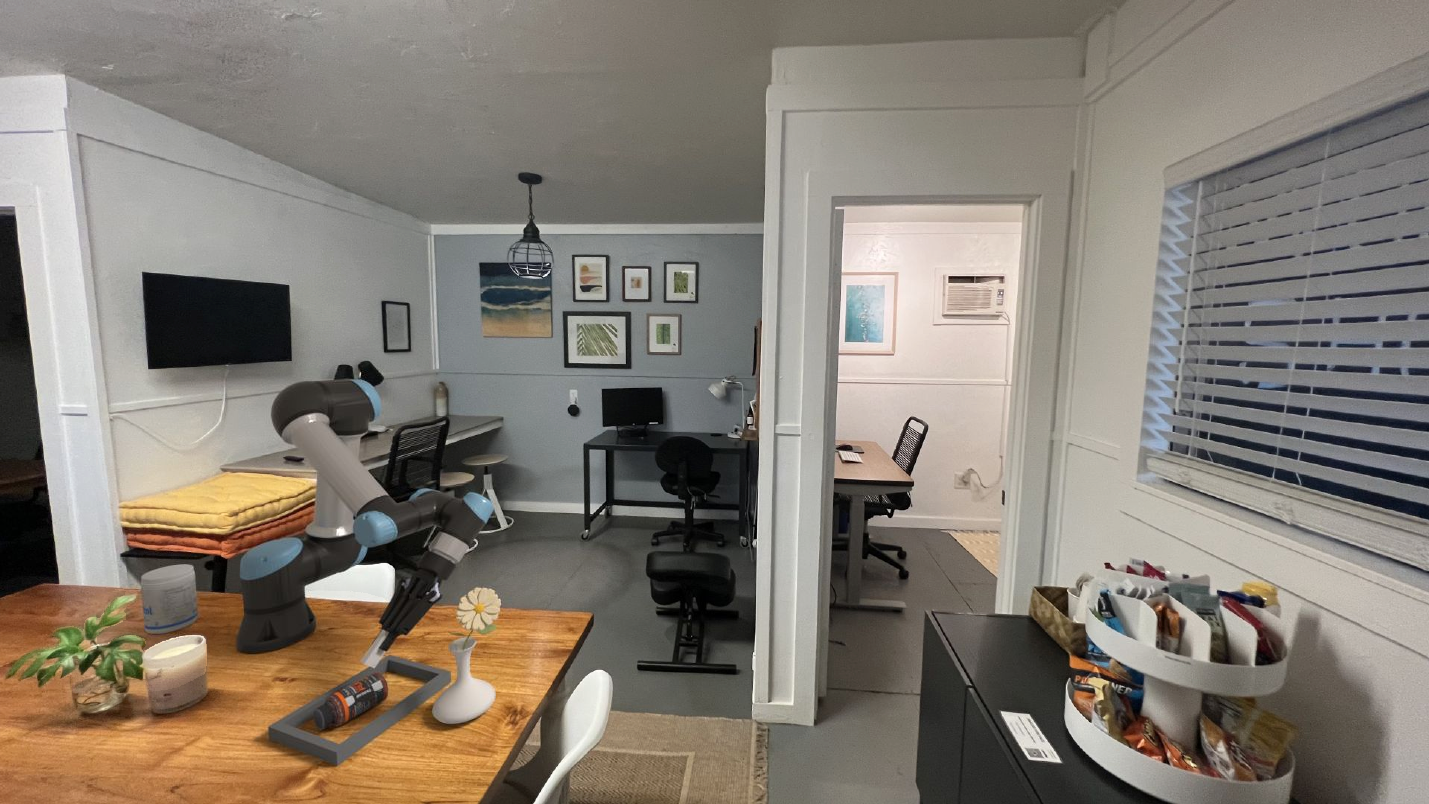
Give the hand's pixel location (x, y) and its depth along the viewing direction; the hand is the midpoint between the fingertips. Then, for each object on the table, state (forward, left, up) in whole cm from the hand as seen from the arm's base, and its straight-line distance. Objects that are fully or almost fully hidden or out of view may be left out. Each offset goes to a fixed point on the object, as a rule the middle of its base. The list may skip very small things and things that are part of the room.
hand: (367, 665), depth 103 cm
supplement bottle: (+1, +2, -5) cm, 6 cm away
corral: (+1, -1, -8) cm, 8 cm away
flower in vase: (+20, +5, -8) cm, 23 cm away
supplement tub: (-76, +4, -8) cm, 76 cm away
